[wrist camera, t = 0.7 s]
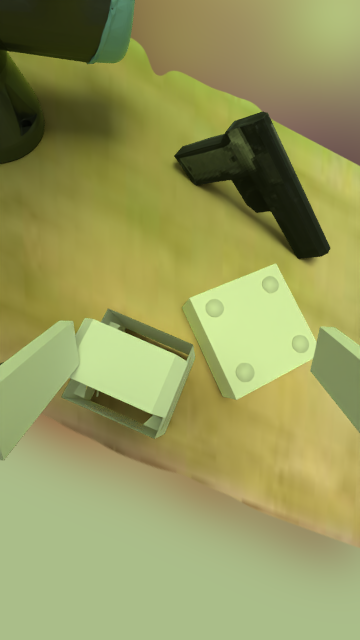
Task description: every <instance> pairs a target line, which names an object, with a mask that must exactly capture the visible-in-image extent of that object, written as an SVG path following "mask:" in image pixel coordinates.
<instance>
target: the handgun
mask: <svg viewBox="0 0 360 640" xmlns="http://www.w3.org/2000/svg"><path fill="white" fill-rule="evenodd" d="M175 158H176V159H177V161H178V162H179V163H180V165H181V166H182V168H183V169H184V171H185V172H186V173H187V175H188V176H189V178H190V179H191V180H192V182H193V183H194V184H195V185H201V184H207V183H213V182H219V181H226V180H232V182H233V183H234V185H235V186H236V188H237V190H238V191H239V193H240V195H241V196H242V198H243V199H244V201H245V203H246V204H247V205H248V206H249V207H250V208H252V209H253V210H254V211H255V212H257V213H258V212H267V211H270V212H272V214H273V216H274V217H275V219H276V221H277V223H278V224H279V226H280V228H281V230H282V232H283V233H284V235H285V237H286V239H287V240H288V242H289V244H290V246H291V247H292V249H293V251H294V253H295V255H296V256H297V258H298V259H301V258H311V257H320V256H323V255H325V254H327V253H328V252H329V250H330V246H329V244H328V242H327V240H326V237H325V235H324V233H323V231H322V229H321V227H320V225H319V222H318V220H317V218H316V216H315V214H314V212H313V209H312V207H311V205H310V203H309V201H308V199H307V197H306V194H305V192H304V190H303V188H302V186H301V184H300V182H299V179H298V177H297V175H296V173H295V171H294V169H293V166H292V164H291V162H290V160H289V158H288V156H287V154H286V151H285V149H284V147H283V145H282V143H281V141H280V139H279V136H278V134H277V132H276V130H275V128H274V126H273V123H272V121H271V119H270V117H269V115H268V113H265V112H260V113H257V114H254V115H251V116H248V117H245V118H242V119H239V120H236V121H234V122H233V123H232V125H231V126H230V127H229V128H228V130H227V131H226V132H225V134H222V135H219V136H215V137H211V138H208V139H205V140H202V141H198V142H195V143H192V144H189V145H186V146H183V147H182V148H181V149H180V150H179V151H178V152H177V153H176V155H175Z"/></svg>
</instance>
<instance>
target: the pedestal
mask: <svg viewBox="0 0 360 640" xmlns="http://www.w3.org/2000/svg"><path fill="white" fill-rule="evenodd" d="M182 309H183V311H184V313H185V315H186V318H187V320H188V322H189V324H190V326H191V328H192V331H193V333H194V335H195V337H196V339H197V342H198V344H199V346H200V348H201V350H202V352H203V355H204V357H205V359H206V361H207V363H208V366H209V368H210V370H211V372H212V374H213V376H214V379H215V381H216V383H217V385H218V387H219V390H220V392H221V394H222V396H223V397H227V398H231V399H235V400H237V399H239V398H241V397H243V396H245V395H247V394H248V393H250V392H252V391H254V390H256V389H258V388H260V387H261V386H263V385H265V384H267V383H269V382H271V381H273V380H274V379H276V378H278V377H280V376H282V375H284V374H285V373H287V372H289V371H291V370H293V369H295V368H297V367H298V366H300V365H302V364H304V363H306V362H308V361H309V360H311V359H313V357H314V352H315V348H316V343H317V342H316V340H315V338H314V336H313V334H312V332H311V331H310V329H309V327H308V325H307V323H306V321H305V319H304V317H303V315H302V313H301V311H300V309H299V307H298V305H297V303H296V301H295V299H294V297H293V296H292V294H291V292H290V290H289V288H288V286H287V284H286V282H285V280H284V278H283V276H282V274H281V272H280V270H279V268H278V266H277V264H273V265H271V266H268V267H266V268H263V269H261V270H258V271H256V272H253V273H251V274H248V275H246V276H243V277H241V278H238V279H236V280H233V281H231V282H228V283H226V284H223V285H221V286H218V287H216V288H213V289H211V290H208V291H206V292H203V293H201V294H198V295H196V296H193V297H191V298H189V299H188V301H187V302H186V303H185V304H184V306H183V307H182Z"/></svg>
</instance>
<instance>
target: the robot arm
mask: <svg viewBox="0 0 360 640" xmlns="http://www.w3.org/2000/svg"><path fill="white" fill-rule="evenodd" d="M134 3H135V0H0V163H4V162H9V161H13V160H16V159H18V158H20V157H23V156H24V155H26V154H28V153H29V152H30V151H32V150H33V149H34V148H35V147H36V146H37V144H38V143H39V141H40V140H41V138H42V135H43V132H44V126H45V123H44V116H43V113H42V110H41V107H40V104H39V101H38V99H37V97H36V95H35V93H34V91H33V89H32V88H31V86H30V85H29V84H28V82H27V81H26V79H25V78H24V76H23V75H22V73H21V72H20V70H19V69H18V67H17V66H16V65H15V63H14V62H13V60H12V59H11V57H10V56H9V54H8V53H7V51H12V52H19V53H26V54H33V55H39V56H46V57H53V58H60V59H67V60H74V61H81V62H86V63H87V64H93V63H95V62H99V63H116V62H119V61H120V60H122V59H123V57H124V56H125V54H126V52H127V49H128V46H129V41H130V36H131V30H132V22H133V14H134ZM78 365H79V358H78V351H77V345H76V338H75V331H74V324H73V321H58V322H57V323H56V324H54V325H53V326H52V327H50V328H49V329H48V330H46V331H45V332H44V333H42V334H41V335H40V336H38V337H37V338H36V339H34V340H33V341H32V342H30V343H29V344H28V345H26V346H25V347H24V348H23V349H21V350H20V351H19V352H17V353H16V354H15V355H13V356H12V357H11V358H9V359H8V360H7V361H5V362H3V363H1V364H0V460H5V458H6V457H7V456H8V455H9V453H10V452H11V451H12V449H13V448H14V447H15V446H16V444H17V443H18V442H19V440H20V439H21V438H22V437H23V435H24V434H25V433H26V431H27V430H28V429H29V428H30V426H31V425H32V424H33V423H34V421H35V420H36V419H37V418H38V416H39V415H40V414H41V412H42V411H43V410H44V409H45V407H46V406H47V405H48V404H49V402H50V401H51V400H52V398H53V397H54V396H55V395H56V393H57V392H58V391H59V390H60V388H61V387H62V386H63V384H64V383H65V382H66V381H67V379H68V378H69V377H70V375H71V374H72V373H73V372H74V370H75V369H76V368H77V367H78ZM311 372H312V374H313V375H314V376H315V377H316V379H317V380H318V381H319V382H320V384H321V385H322V386H323V387H324V389H325V390H326V391H327V392H328V394H329V395H330V396H331V397H332V399H333V400H334V401H335V402H336V404H337V405H338V406H339V408H340V409H341V410H342V411H343V413H344V414H345V415H346V416H347V418H348V419H349V420H350V421H351V423H352V424H353V425H354V426H355V428H356V429H357V430H358V431H359V433H360V346H359V345H358V344H357V343H355V342H354V341H353V340H351V339H350V338H349V337H347V336H346V335H345V334H343V333H342V332H340V331H339V330H338V329H336V328H335V327H320V330H319V334H318V339H317V343H316V348H315V352H314V357H313V362H312V366H311Z"/></svg>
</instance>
